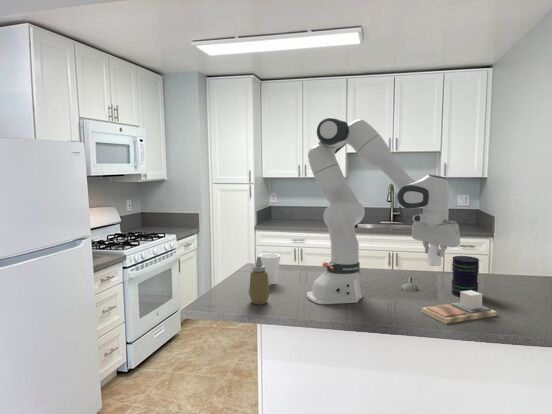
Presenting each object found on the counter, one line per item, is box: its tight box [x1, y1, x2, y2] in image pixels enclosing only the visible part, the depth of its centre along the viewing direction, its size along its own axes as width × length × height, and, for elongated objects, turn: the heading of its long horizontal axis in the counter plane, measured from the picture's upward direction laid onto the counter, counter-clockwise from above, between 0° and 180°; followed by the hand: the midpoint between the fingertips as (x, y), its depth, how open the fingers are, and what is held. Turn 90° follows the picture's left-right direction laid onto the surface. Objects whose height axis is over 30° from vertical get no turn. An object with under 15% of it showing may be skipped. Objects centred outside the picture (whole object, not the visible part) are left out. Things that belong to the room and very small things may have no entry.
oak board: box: [420, 301, 497, 325], centre depth 142 cm, size 22×12×2 cm, turn 109°
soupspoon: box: [401, 275, 419, 293], centre depth 179 cm, size 22×3×7 cm
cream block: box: [459, 290, 483, 309], centre depth 143 cm, size 5×5×5 cm
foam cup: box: [258, 252, 281, 285], centre depth 182 cm, size 10×9×13 cm
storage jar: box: [451, 255, 480, 298], centre depth 163 cm, size 10×10×15 cm
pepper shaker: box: [426, 243, 442, 267], centre depth 151 cm, size 4×4×10 cm
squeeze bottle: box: [248, 256, 271, 305], centre depth 155 cm, size 8×8×18 cm
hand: (434, 254), depth 151 cm, fingers closed on pepper shaker, 5 cm apart
